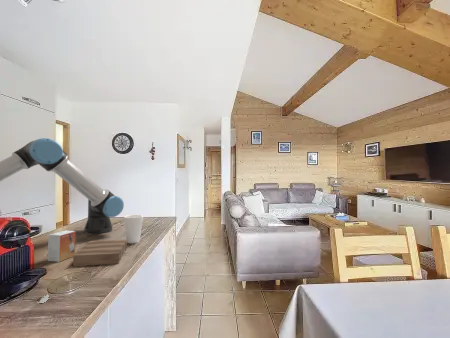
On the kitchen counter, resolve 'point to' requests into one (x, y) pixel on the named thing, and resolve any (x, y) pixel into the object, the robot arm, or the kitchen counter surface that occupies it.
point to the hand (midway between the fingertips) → (33, 231)
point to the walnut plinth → (100, 252)
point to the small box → (61, 245)
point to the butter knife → (44, 299)
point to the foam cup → (133, 227)
